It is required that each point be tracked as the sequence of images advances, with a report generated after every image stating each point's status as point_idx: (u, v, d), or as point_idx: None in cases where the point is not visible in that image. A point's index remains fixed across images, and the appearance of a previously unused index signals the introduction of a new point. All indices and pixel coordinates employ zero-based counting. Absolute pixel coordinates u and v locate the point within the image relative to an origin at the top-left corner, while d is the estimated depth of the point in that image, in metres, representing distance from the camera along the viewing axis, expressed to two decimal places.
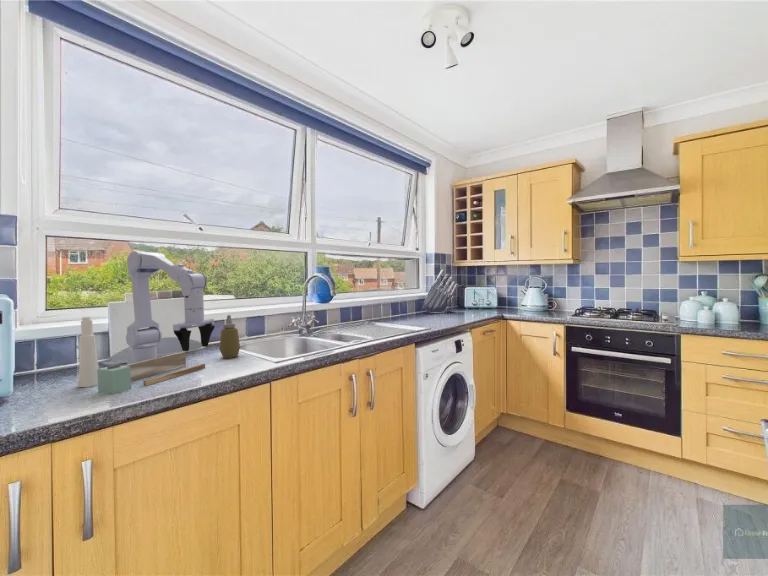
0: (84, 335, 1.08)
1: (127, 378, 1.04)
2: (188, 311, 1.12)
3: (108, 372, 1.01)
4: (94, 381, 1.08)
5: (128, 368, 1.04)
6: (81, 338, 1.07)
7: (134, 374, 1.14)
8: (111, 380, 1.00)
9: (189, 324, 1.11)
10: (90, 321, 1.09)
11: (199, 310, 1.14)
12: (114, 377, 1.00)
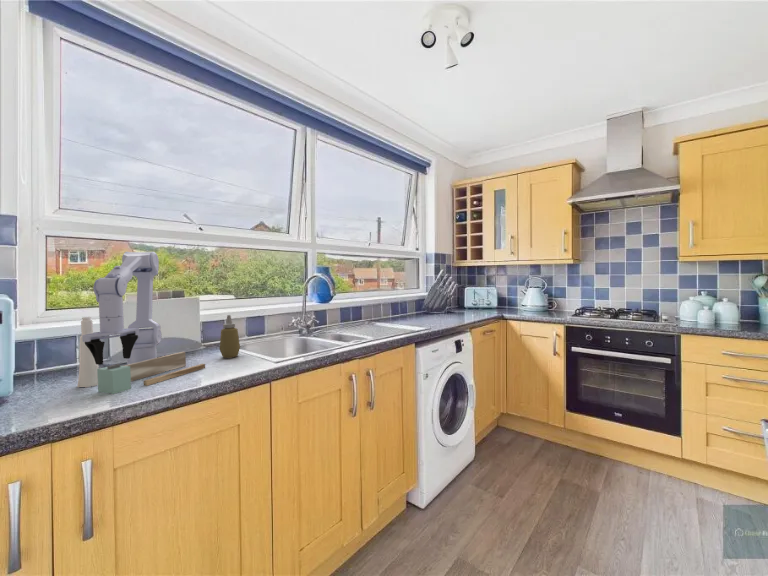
0: None
1: (127, 378, 1.04)
2: (102, 320, 1.00)
3: (108, 372, 1.01)
4: (94, 381, 1.08)
5: (128, 368, 1.04)
6: (81, 338, 1.07)
7: (134, 374, 1.14)
8: (111, 380, 1.00)
9: (102, 334, 0.99)
10: (90, 321, 1.09)
11: (116, 318, 1.02)
12: (114, 377, 1.00)
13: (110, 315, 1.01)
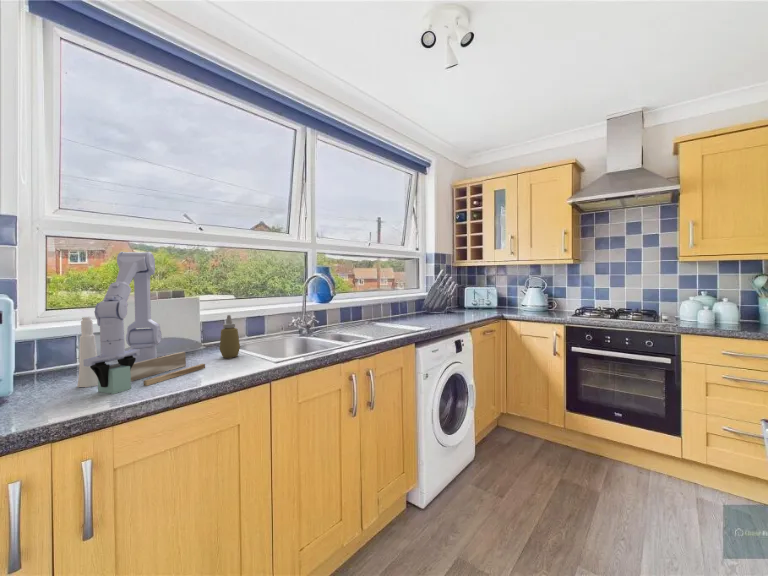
0: (84, 335, 1.08)
1: (127, 378, 1.04)
2: (103, 343, 1.01)
3: (108, 372, 1.01)
4: (94, 381, 1.08)
5: (128, 368, 1.04)
6: (81, 338, 1.07)
7: (134, 374, 1.14)
8: (111, 380, 1.00)
9: (104, 358, 0.99)
10: (90, 321, 1.09)
11: (117, 342, 1.02)
12: (114, 377, 1.00)
13: (111, 339, 1.01)
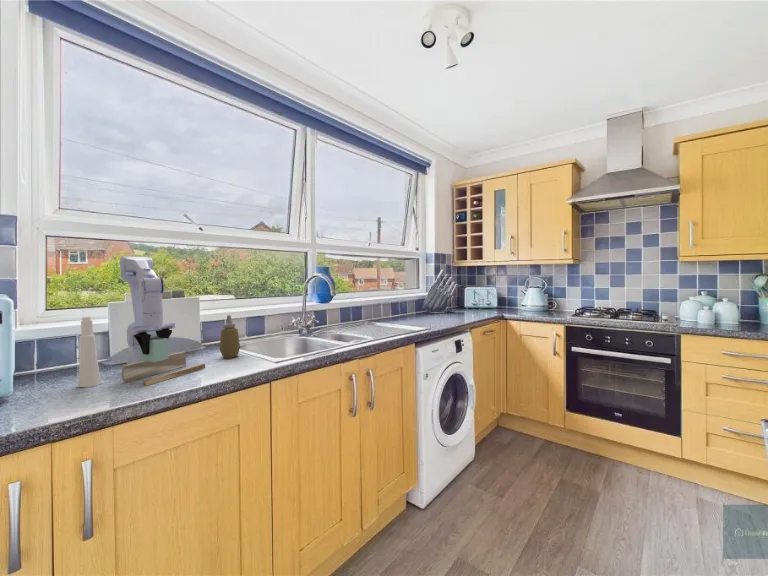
0: (84, 335, 1.08)
1: (165, 348, 1.16)
2: (145, 315, 1.12)
3: (149, 342, 1.12)
4: (94, 381, 1.08)
5: (166, 340, 1.16)
6: (81, 338, 1.07)
7: (134, 374, 1.14)
8: (152, 349, 1.12)
9: (146, 328, 1.11)
10: (90, 321, 1.09)
11: (157, 314, 1.14)
12: (154, 347, 1.12)
13: (157, 311, 1.14)
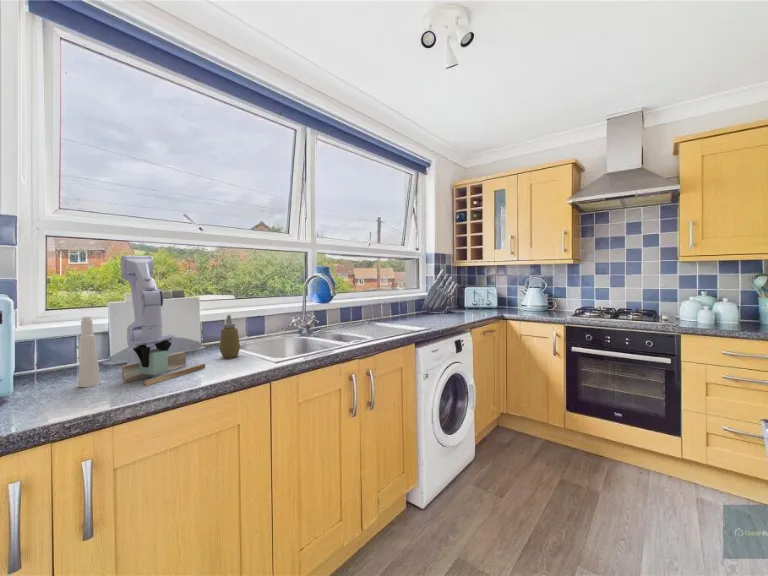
0: (84, 335, 1.08)
1: (165, 361, 1.16)
2: (145, 328, 1.13)
3: (149, 355, 1.13)
4: (94, 381, 1.08)
5: (166, 352, 1.17)
6: (81, 338, 1.07)
7: (134, 374, 1.14)
8: (152, 362, 1.13)
9: (145, 341, 1.12)
10: (90, 321, 1.09)
11: (156, 327, 1.14)
12: (154, 360, 1.13)
13: (156, 324, 1.14)
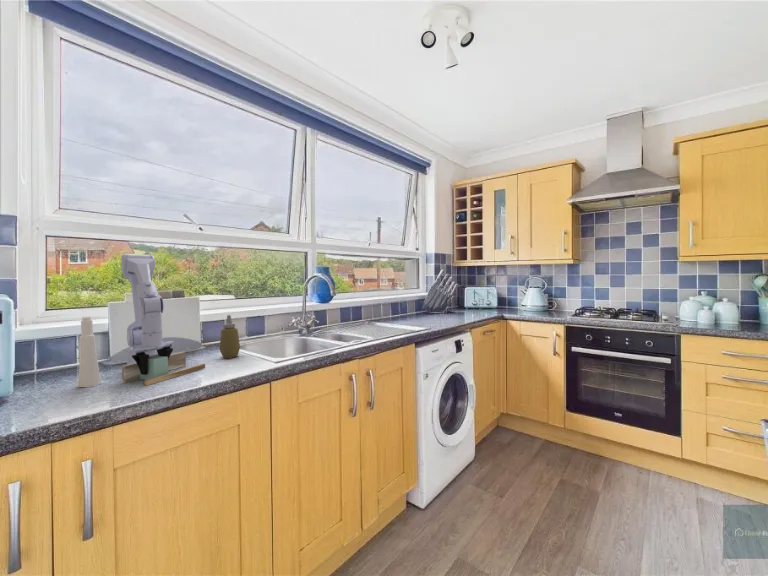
0: (84, 335, 1.08)
1: (165, 367, 1.16)
2: (145, 335, 1.13)
3: (149, 361, 1.13)
4: (94, 381, 1.08)
5: (166, 358, 1.17)
6: (81, 338, 1.07)
7: (134, 374, 1.14)
8: (152, 368, 1.13)
9: (145, 348, 1.12)
10: (90, 321, 1.09)
11: (156, 334, 1.15)
12: (154, 366, 1.13)
13: (156, 330, 1.15)
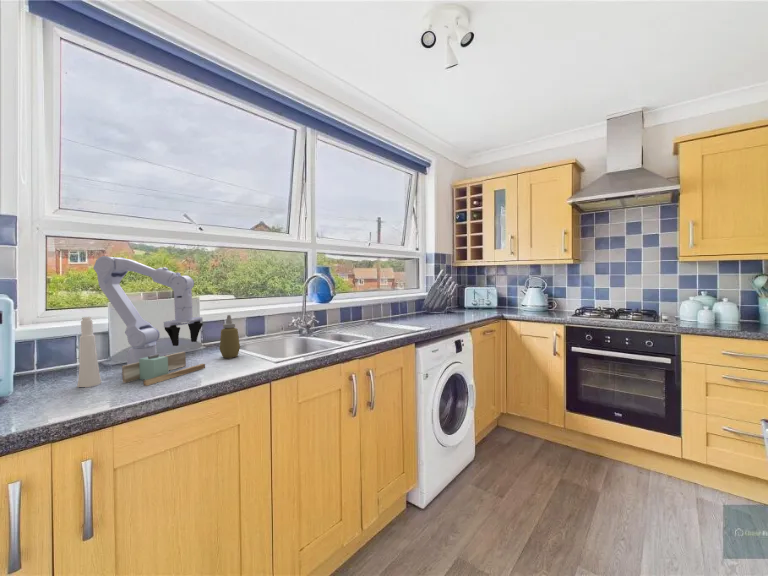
0: (84, 335, 1.08)
1: (165, 367, 1.16)
2: (177, 310, 1.24)
3: (149, 361, 1.13)
4: (94, 381, 1.08)
5: (166, 358, 1.17)
6: (81, 338, 1.07)
7: (134, 374, 1.14)
8: (152, 368, 1.13)
9: (178, 321, 1.23)
10: (90, 321, 1.09)
11: (188, 309, 1.26)
12: (154, 366, 1.13)
13: None
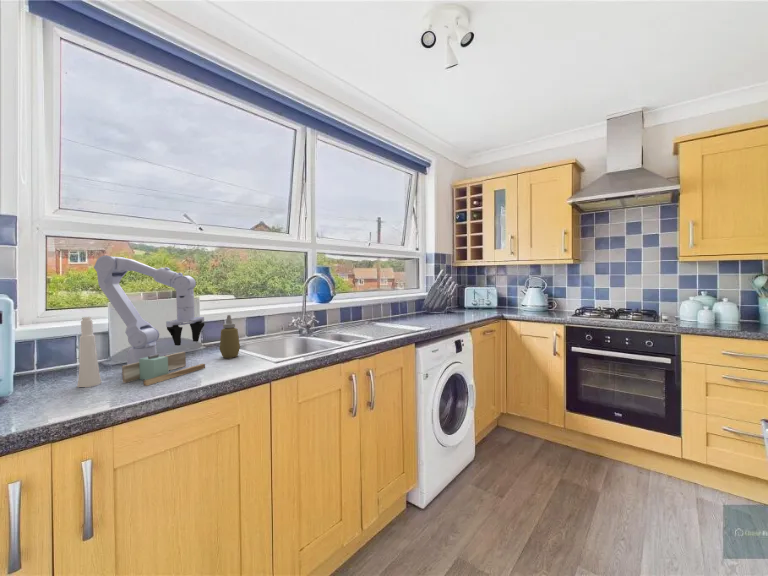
0: (84, 335, 1.08)
1: (165, 367, 1.16)
2: (180, 310, 1.25)
3: (149, 361, 1.13)
4: (94, 381, 1.08)
5: (166, 358, 1.17)
6: (81, 338, 1.07)
7: (134, 374, 1.14)
8: (152, 368, 1.13)
9: (181, 321, 1.24)
10: (90, 321, 1.09)
11: (190, 309, 1.26)
12: (154, 366, 1.13)
13: None
